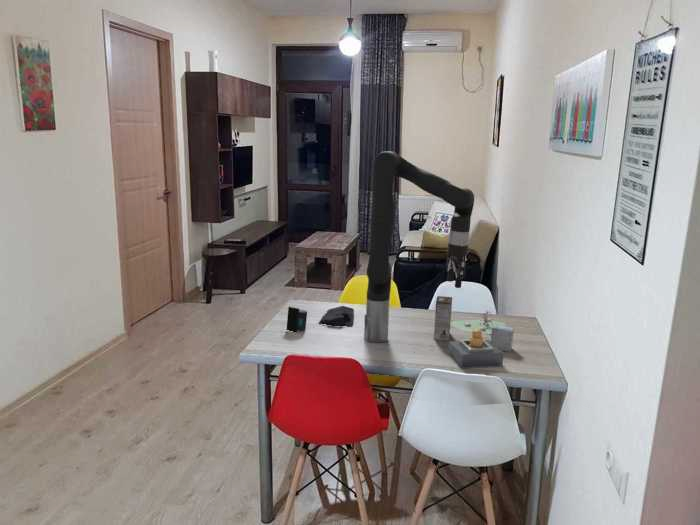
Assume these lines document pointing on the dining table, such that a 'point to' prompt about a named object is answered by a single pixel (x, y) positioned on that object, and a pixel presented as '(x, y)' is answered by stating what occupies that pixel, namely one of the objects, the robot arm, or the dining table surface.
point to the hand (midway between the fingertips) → (453, 284)
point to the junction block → (475, 354)
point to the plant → (477, 324)
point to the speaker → (296, 319)
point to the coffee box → (442, 318)
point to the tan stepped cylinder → (476, 339)
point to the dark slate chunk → (338, 317)
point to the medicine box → (502, 337)
